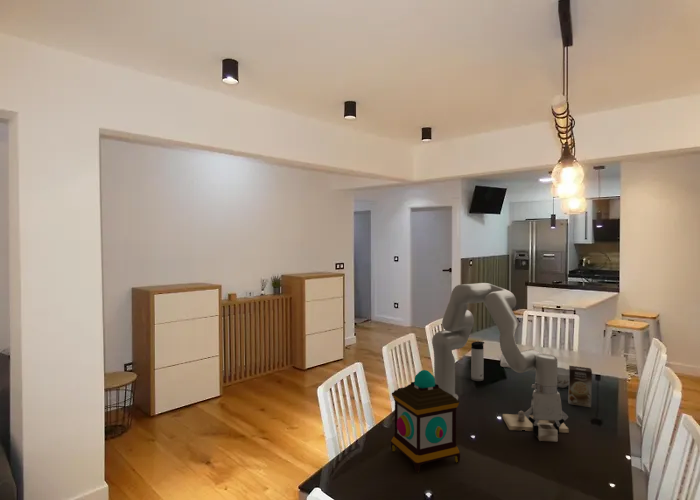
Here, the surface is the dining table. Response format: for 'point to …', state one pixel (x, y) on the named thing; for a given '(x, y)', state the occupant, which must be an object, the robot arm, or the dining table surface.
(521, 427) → the pintle board
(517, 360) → the robot arm
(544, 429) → the collar
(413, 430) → the decorative lantern
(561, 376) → the teacup
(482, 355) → the travel mug
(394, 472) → the dining table surface
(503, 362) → the crystal
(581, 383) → the coffee box
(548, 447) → the dining table surface
